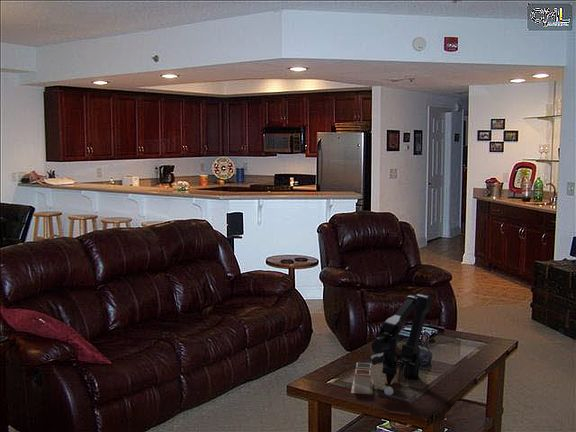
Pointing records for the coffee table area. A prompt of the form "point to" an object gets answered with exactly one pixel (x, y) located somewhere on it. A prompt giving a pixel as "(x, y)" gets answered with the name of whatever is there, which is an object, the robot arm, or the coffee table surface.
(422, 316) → the robot arm
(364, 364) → the box
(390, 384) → the terracotta ball
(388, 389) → the grey ball
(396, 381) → the coffee table surface
